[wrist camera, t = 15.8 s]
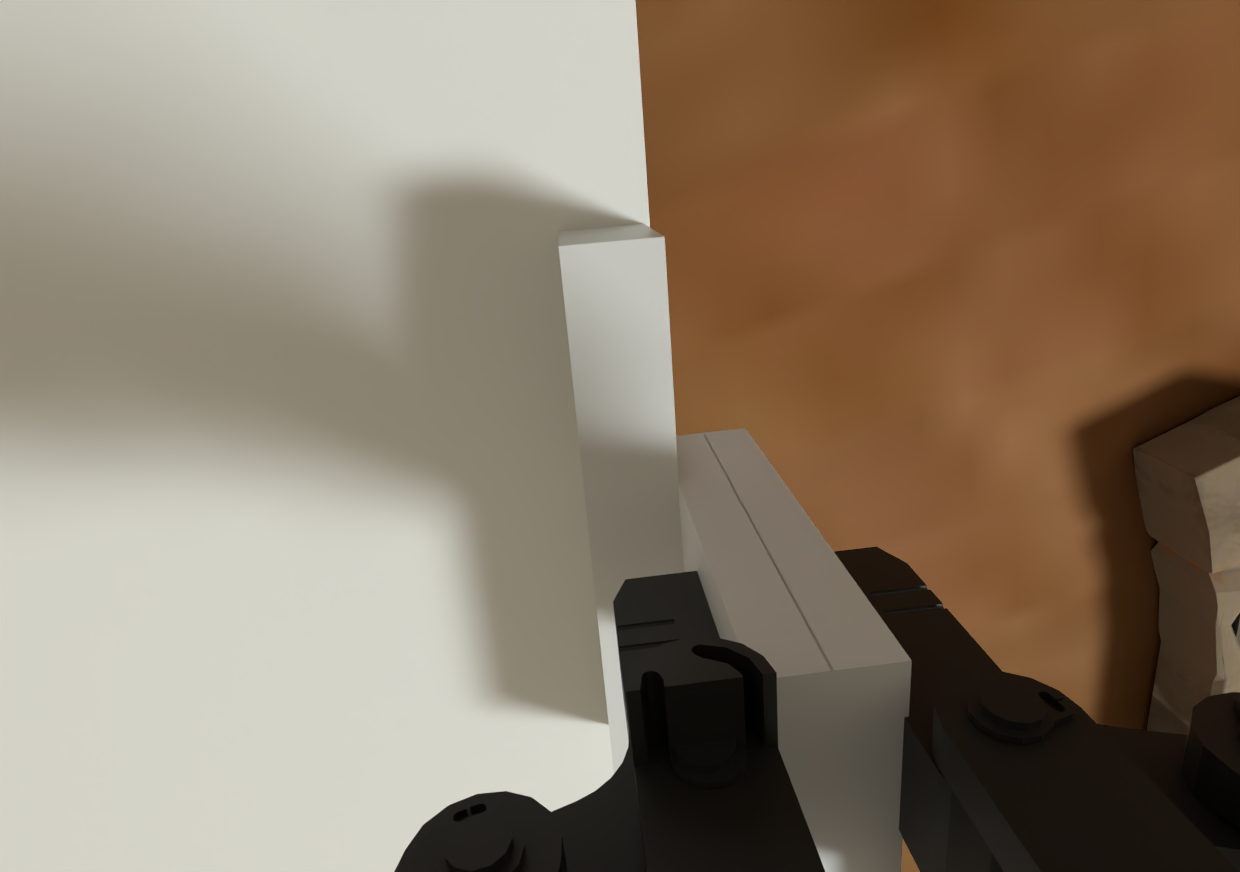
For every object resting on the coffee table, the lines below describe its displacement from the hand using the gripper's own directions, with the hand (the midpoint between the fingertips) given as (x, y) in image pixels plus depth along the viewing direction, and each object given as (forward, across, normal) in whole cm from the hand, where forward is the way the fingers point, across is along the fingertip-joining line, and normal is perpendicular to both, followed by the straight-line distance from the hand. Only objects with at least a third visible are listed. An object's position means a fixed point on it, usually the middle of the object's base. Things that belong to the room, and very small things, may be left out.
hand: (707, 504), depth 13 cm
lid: (+2, -8, 0) cm, 8 cm away
